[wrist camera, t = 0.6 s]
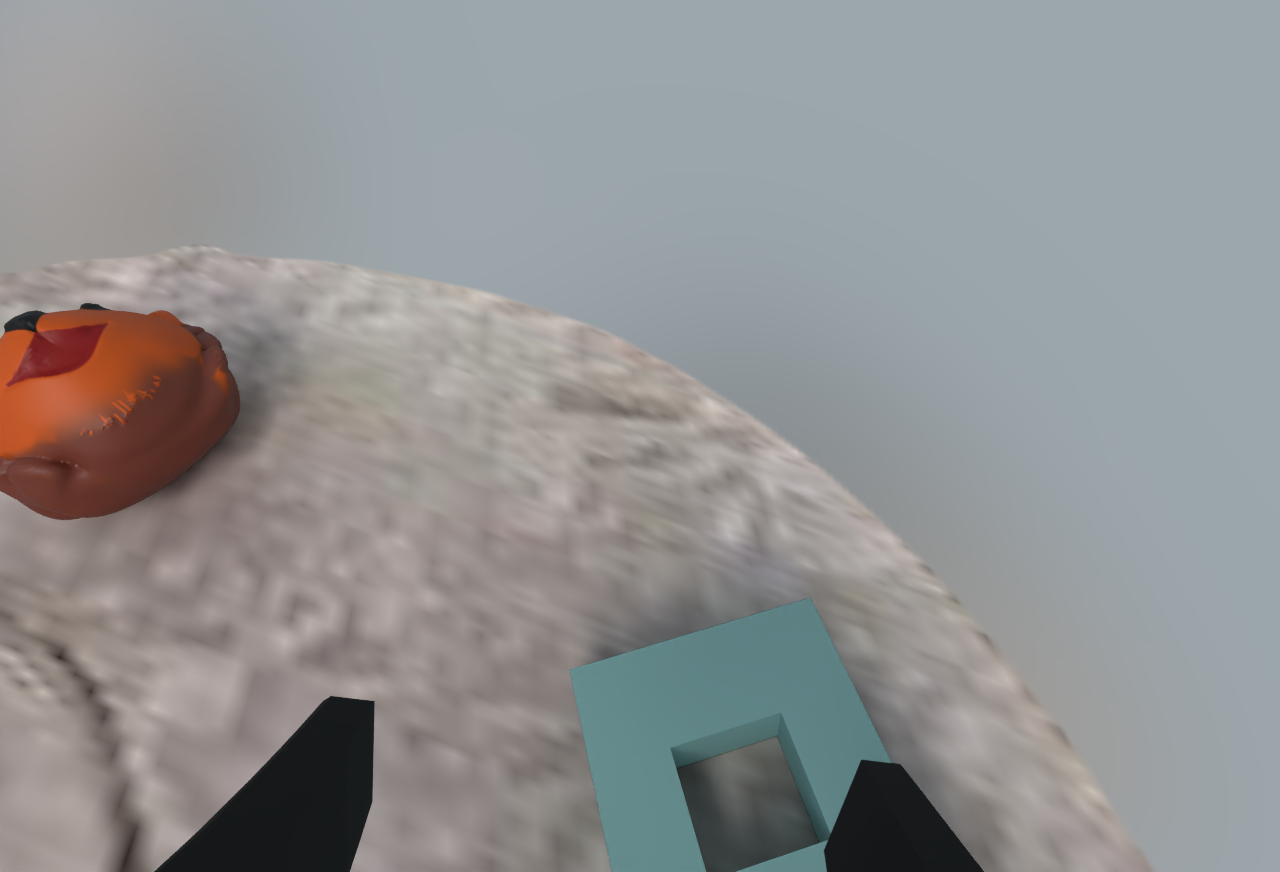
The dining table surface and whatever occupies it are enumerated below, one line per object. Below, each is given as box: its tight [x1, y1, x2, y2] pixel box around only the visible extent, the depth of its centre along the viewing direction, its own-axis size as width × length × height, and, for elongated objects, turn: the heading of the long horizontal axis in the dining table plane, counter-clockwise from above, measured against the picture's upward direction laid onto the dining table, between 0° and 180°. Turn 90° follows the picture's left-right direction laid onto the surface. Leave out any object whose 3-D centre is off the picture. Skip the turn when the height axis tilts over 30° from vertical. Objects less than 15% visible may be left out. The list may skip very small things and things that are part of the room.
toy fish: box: [0, 303, 240, 520], centre depth 36 cm, size 12×10×11 cm
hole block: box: [570, 598, 892, 872], centre depth 25 cm, size 12×10×2 cm
